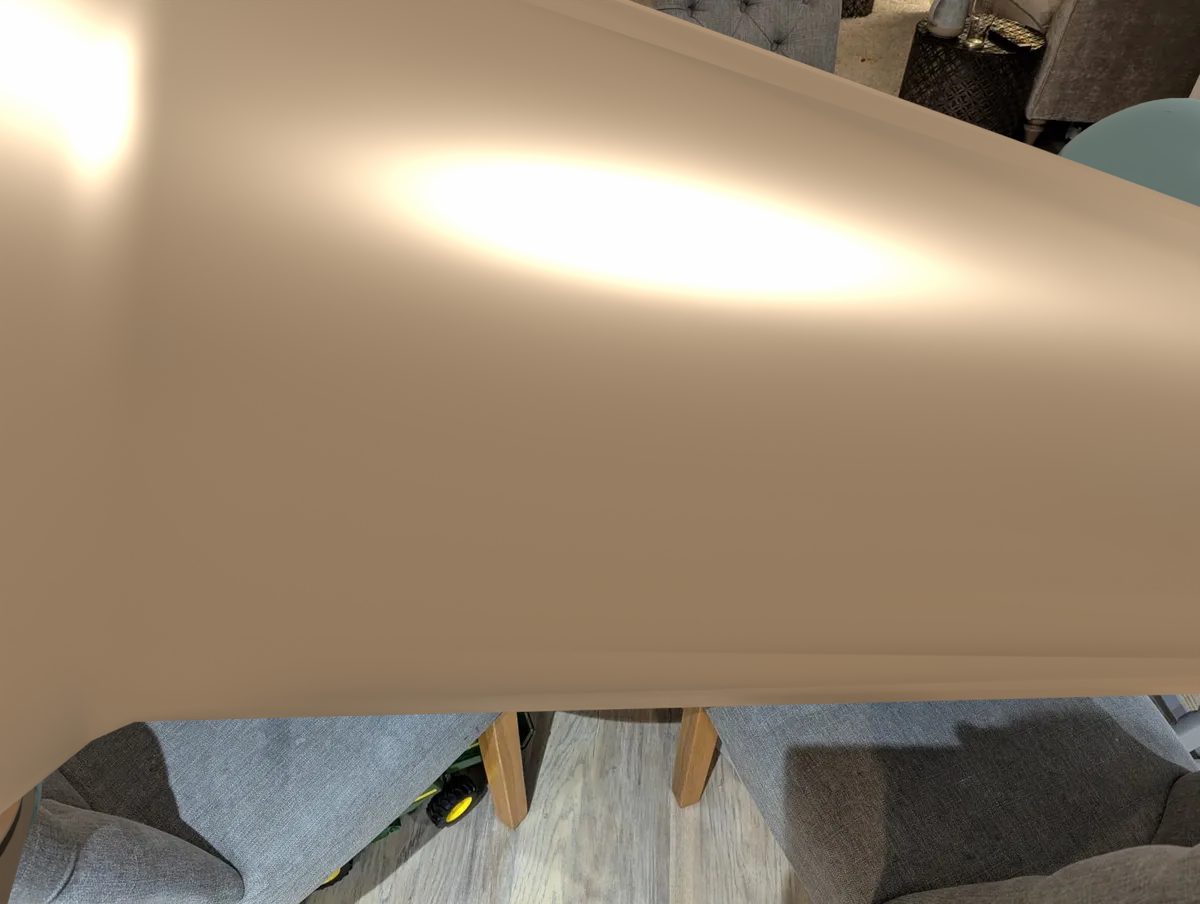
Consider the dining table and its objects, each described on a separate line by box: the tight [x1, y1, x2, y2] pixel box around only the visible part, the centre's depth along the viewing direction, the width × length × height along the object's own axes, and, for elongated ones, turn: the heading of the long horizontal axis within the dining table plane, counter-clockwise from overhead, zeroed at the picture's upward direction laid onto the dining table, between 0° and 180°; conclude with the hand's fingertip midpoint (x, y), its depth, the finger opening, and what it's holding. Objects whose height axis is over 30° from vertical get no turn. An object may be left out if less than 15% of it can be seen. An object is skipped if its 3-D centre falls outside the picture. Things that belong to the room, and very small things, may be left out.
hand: (752, 493), depth 58 cm, fingers open, 13 cm apart
